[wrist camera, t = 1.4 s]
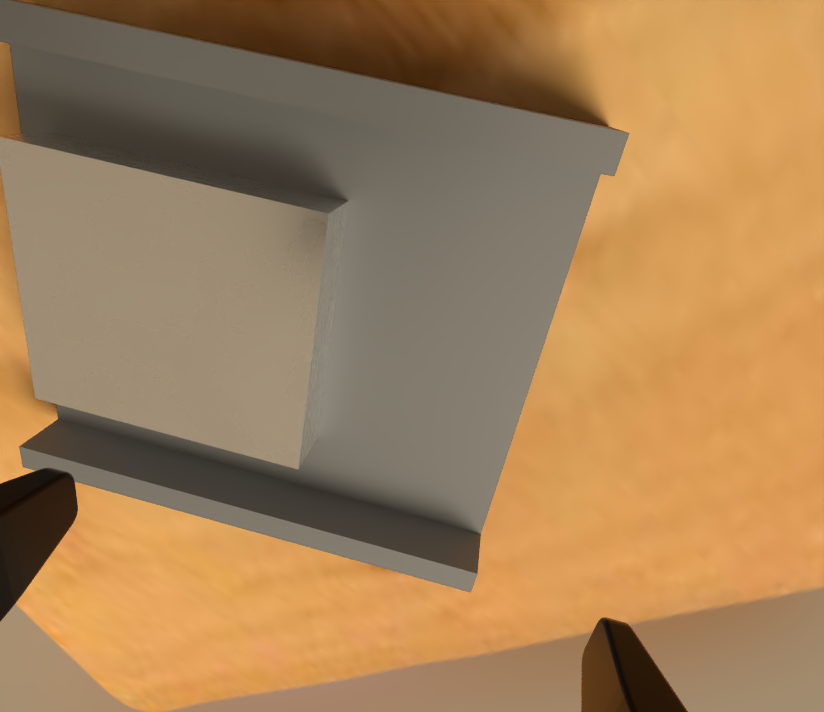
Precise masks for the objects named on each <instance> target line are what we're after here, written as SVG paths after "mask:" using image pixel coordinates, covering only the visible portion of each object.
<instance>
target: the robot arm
mask: <svg viewBox="0 0 824 712" xmlns="http://www.w3.org/2000/svg"><path fill="white" fill-rule="evenodd" d="M77 511H78V505H77V497H76V489H75V482H74V477H73V476H72V475H71V474H70V473H69V472H65V471H62V470H58V469H54V468H43V469H40V470H37V471H34V472H31V473H29V474H26V475H23V476H20V477H18V478H15V479H12V480H9V481H6V482H4V483H1V484H0V621H1V620H2V619H3V618H4V617H5V615H6V614H7V613H8V612H9V611H10V609H11V608H12V607H13V605H14V604H15V603H16V602H17V601H18V599H19V598H20V597H21V595H22V594H23V593H24V591H25V590H26V589H27V587H28V586H29V584H30V583H31V582H32V580H33V579H34V577H35V576H36V575H37V573H38V572H39V570H40V569H41V568H42V566H43V565H44V563H45V562H46V561H47V559H48V558H49V556H50V555H51V554H52V552H53V551H54V549H55V548H56V547H57V545H58V544H59V542H60V541H61V540H62V538H63V537H64V535H65V534H66V533H67V531H68V530H69V528H70V527H71V526H72V524H73V522H74V520H75V518H76V516H77ZM581 712H688V711H687V710H686V708H685V707H684V706H683V704H682V702H681V701H680V700H679V698H678V696H677V695H676V693H675V692H674V690H673V689H672V687H671V686H670V684H669V683H668V681H667V680H666V678H665V677H664V675H663V674H662V672H661V671H660V670H659V668H658V667H657V665H656V664H655V662H654V661H653V659H652V658H651V656H650V655H649V653H648V652H647V650H646V649H645V647H644V646H643V644H642V643H641V641H640V640H639V638H638V637H637V635H636V634H635V632H634V631H633V629H632V628H631V627H630V626H629V625H628V624H627V623H624V622H621V621H617V620H614V619H610V618H601V619H600V620H599V621H598V623H597V625H596V627H595V629H594V631H593V633H592V635H591V637H590V639H589V641H588V643H587V645H586V647H585V649H584V653H583V657H582V711H581Z"/></svg>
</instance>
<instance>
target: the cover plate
mask: <svg viewBox="0 0 824 712" xmlns="http://www.w3.org/2000/svg"><path fill="white" fill-rule="evenodd" d="M0 168H1V175H2V181H3V188H4V195H5V201H6V208H7V215H8V221H9V228H10V235H11V241H12V248H13V255H14V261H15V268H16V275H17V281H18V288H19V295H20V302H21V308H22V315H23V322H24V328H25V335H26V342H27V348H28V355H29V362H30V368H31V375H32V382H33V388H34V395H35V399H39V400H43V401H47V402H50V403H54V404H58V405H61V406H65V407H69V408H72V409H76V410H80V411H84V412H87V413H91V414H95V415H98V416H102V417H106V418H109V419H113V420H117V421H121V422H124V423H128V424H132V425H135V426H139V427H143V428H146V429H150V430H154V431H158V432H161V433H165V434H169V435H172V436H176V437H180V438H184V439H187V440H191V441H195V442H198V443H202V444H206V445H209V446H213V447H217V448H221V449H224V450H228V451H232V452H235V453H239V454H243V455H246V456H250V457H254V458H258V459H261V460H265V461H269V462H272V463H276V464H280V465H283V466H287V467H291V468H295V469H299V468H300V466H301V464H302V463H303V461H304V459H305V457H306V456H307V454H308V452H309V451H310V449H311V447H312V446H313V444H314V442H315V440H316V439H317V435H318V427H319V420H320V412H321V405H322V397H323V390H324V382H325V375H326V367H327V360H328V352H329V345H330V337H331V330H332V322H333V315H334V307H335V300H336V292H337V285H338V277H339V270H340V262H341V254H342V247H343V239H344V232H345V224H346V217H347V209H348V202H349V201H345V200H341V199H337V198H332V197H328V196H324V195H319V194H315V193H311V192H306V191H302V190H298V189H293V188H289V187H285V186H280V185H276V184H272V183H267V182H263V181H259V180H255V179H250V178H246V177H242V176H237V175H233V174H229V173H224V172H220V171H216V170H211V169H207V168H203V167H198V166H194V165H190V164H185V163H181V162H177V161H172V160H168V159H164V158H159V157H155V156H151V155H147V154H142V153H138V152H134V151H129V150H125V149H121V148H116V147H112V146H108V145H103V144H99V143H95V142H90V141H86V140H82V139H77V138H73V137H69V136H64V135H60V134H56V133H52V132H40V133H27V134H14V135H0Z"/></svg>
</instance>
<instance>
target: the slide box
mask: <svg viewBox="0 0 824 712" xmlns="http://www.w3.org/2000/svg"><path fill="white" fill-rule="evenodd" d="M0 41H1V42H6V43H10V50H11V58H12V66H13V74H14V81H15V89H16V97H17V104H18V112H19V120H20V128H21V134H27V133H40V132H52V133H56V134H60V135H64V136H69V137H73V138H77V139H82V140H86V141H90V142H95V143H99V144H103V145H108V146H112V147H116V148H121V149H125V150H129V151H134V152H138V153H142V154H147V155H151V156H155V157H159V158H164V159H168V160H172V161H177V162H181V163H185V164H190V165H194V166H198V167H203V168H207V169H211V170H216V171H220V172H224V173H229V174H233V175H237V176H242V177H246V178H250V179H255V180H259V181H263V182H267V183H272V184H276V185H280V186H285V187H289V188H293V189H298V190H302V191H306V192H311V193H315V194H319V195H324V196H328V197H332V198H337V199H341V200H345V201H349V202H348V209H347V217H346V224H345V232H344V239H343V247H342V254H341V262H340V270H339V277H338V285H337V292H336V300H335V307H334V315H333V322H332V330H331V337H330V345H329V352H328V360H327V367H326V375H325V382H324V390H323V397H322V405H321V412H320V420H319V427H318V435H317V439H316V440H315V442H314V444H313V446H312V447H311V449H310V451H309V452H308V454H307V456H306V457H305V459H304V461H303V463H302V464H301V466H300V468H299V469H295V468H291V467H287V466H283V465H280V464H276V463H272V462H269V461H265V460H261V459H258V458H254V457H250V456H246V455H243V454H239V453H235V452H232V451H228V450H224V449H221V448H217V447H213V446H209V445H206V444H202V443H198V442H195V441H191V440H187V439H184V438H180V437H176V436H172V435H169V434H165V433H161V432H158V431H154V430H150V429H146V428H143V427H139V426H135V425H132V424H128V423H124V422H121V421H117V420H113V419H109V418H106V417H102V416H98V415H95V414H91V413H87V412H84V411H80V410H76V409H72V408H69V407H65V406H61V405H58V404H56V405H57V413H58V420H56V421H55V422H54V423H52V424H51V425H49V426H48V427H46V428H45V429H44V430H42V431H41V432H39V433H38V434H36V435H35V436H34V437H32V438H31V439H29V440H28V441H26V442H25V443H24V444H22V445H21V446H19V448H20V454H21V459H22V465H23V467H25V468H28V469H32V470H36V471H37V470H40V469H43V468H54V469H58V470H62V471H65V472H69V473H70V474H71V475H72V476H73V477H74V481H75V482H78V483H82V484H85V485H89V486H93V487H96V488H100V489H103V490H107V491H110V492H114V493H118V494H121V495H125V496H128V497H132V498H135V499H139V500H142V501H146V502H150V503H153V504H157V505H160V506H164V507H167V508H171V509H175V510H178V511H182V512H185V513H189V514H192V515H196V516H200V517H203V518H207V519H210V520H214V521H217V522H221V523H224V524H228V525H232V526H235V527H239V528H242V529H246V530H249V531H253V532H257V533H260V534H264V535H267V536H271V537H274V538H278V539H282V540H285V541H289V542H292V543H296V544H299V545H303V546H306V547H310V548H314V549H317V550H321V551H324V552H328V553H331V554H335V555H339V556H342V557H346V558H349V559H353V560H356V561H360V562H364V563H367V564H371V565H374V566H378V567H381V568H385V569H389V570H392V571H396V572H399V573H403V574H406V575H410V576H413V577H417V578H421V579H424V580H428V581H431V582H435V583H438V584H442V585H446V586H449V587H453V588H456V589H460V590H463V591H467V592H471V591H472V588H473V585H474V582H475V579H476V576H477V571H478V559H479V548H480V536H481V532H482V529H483V526H484V523H485V520H486V517H487V514H488V511H489V508H490V505H491V502H492V499H493V496H494V493H495V490H496V487H497V484H498V481H499V478H500V475H501V472H502V469H503V466H504V462H505V459H506V456H507V453H508V450H509V447H510V444H511V441H512V438H513V435H514V432H515V429H516V426H517V423H518V420H519V417H520V414H521V411H522V408H523V405H524V402H525V399H526V396H527V393H528V390H529V387H530V384H531V381H532V378H533V375H534V372H535V369H536V366H537V363H538V360H539V357H540V354H541V351H542V348H543V345H544V342H545V339H546V336H547V333H548V330H549V327H550V324H551V321H552V318H553V315H554V312H555V309H556V306H557V303H558V300H559V297H560V294H561V291H562V288H563V285H564V282H565V279H566V276H567V273H568V270H569V267H570V264H571V261H572V258H573V255H574V252H575V249H576V246H577V243H578V240H579V237H580V234H581V231H582V228H583V225H584V222H585V219H586V216H587V213H588V210H589V207H590V204H591V201H592V198H593V195H594V192H595V189H596V186H597V183H598V180H599V177H600V174H605V175H610V176H615V173H616V170H617V167H618V164H619V162H620V159H621V156H622V153H623V150H624V147H625V144H626V141H627V138H628V135H629V133H627V132H624V131H621V130H618V129H615V128H612V127H608V126H603V125H599V124H594V123H589V122H585V121H580V120H575V119H571V118H566V117H561V116H556V115H552V114H547V113H542V112H538V111H533V110H528V109H524V108H519V107H514V106H510V105H505V104H500V103H496V102H491V101H486V100H482V99H477V98H472V97H468V96H463V95H458V94H454V93H449V92H444V91H440V90H435V89H430V88H425V87H421V86H416V85H411V84H407V83H402V82H397V81H393V80H388V79H383V78H379V77H374V76H369V75H365V74H360V73H355V72H351V71H346V70H341V69H337V68H332V67H327V66H323V65H318V64H313V63H309V62H304V61H299V60H294V59H290V58H285V57H280V56H276V55H271V54H266V53H262V52H257V51H252V50H248V49H243V48H238V47H234V46H229V45H224V44H220V43H215V42H210V41H206V40H201V39H196V38H192V37H187V36H182V35H178V34H173V33H168V32H163V31H159V30H154V29H149V28H145V27H140V26H135V25H131V24H126V23H121V22H117V21H112V20H107V19H103V18H98V17H93V16H89V15H84V14H79V13H75V12H70V11H65V10H61V9H56V8H51V7H47V6H42V5H37V4H32V3H27V2H22V1H17V0H0Z"/></svg>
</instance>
